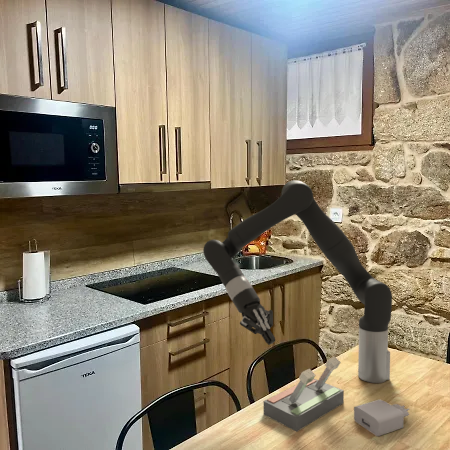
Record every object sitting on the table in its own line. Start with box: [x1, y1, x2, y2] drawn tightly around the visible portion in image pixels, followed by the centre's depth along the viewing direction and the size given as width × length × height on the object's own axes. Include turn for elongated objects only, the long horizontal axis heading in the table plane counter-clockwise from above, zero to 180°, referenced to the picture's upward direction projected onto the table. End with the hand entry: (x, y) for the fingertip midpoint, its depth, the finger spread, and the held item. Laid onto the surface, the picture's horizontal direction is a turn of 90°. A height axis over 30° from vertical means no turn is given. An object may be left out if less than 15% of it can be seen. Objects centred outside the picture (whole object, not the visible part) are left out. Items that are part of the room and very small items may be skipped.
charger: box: [353, 398, 410, 437], centre depth 120 cm, size 5×9×15 cm
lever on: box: [315, 356, 341, 389], centre depth 129 cm, size 2×3×11 cm
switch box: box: [263, 378, 345, 432], centre depth 128 cm, size 12×22×4 cm, turn 132°
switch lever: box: [289, 368, 316, 403], centre depth 121 cm, size 2×3×11 cm
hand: (272, 342), depth 127 cm, fingers closed
